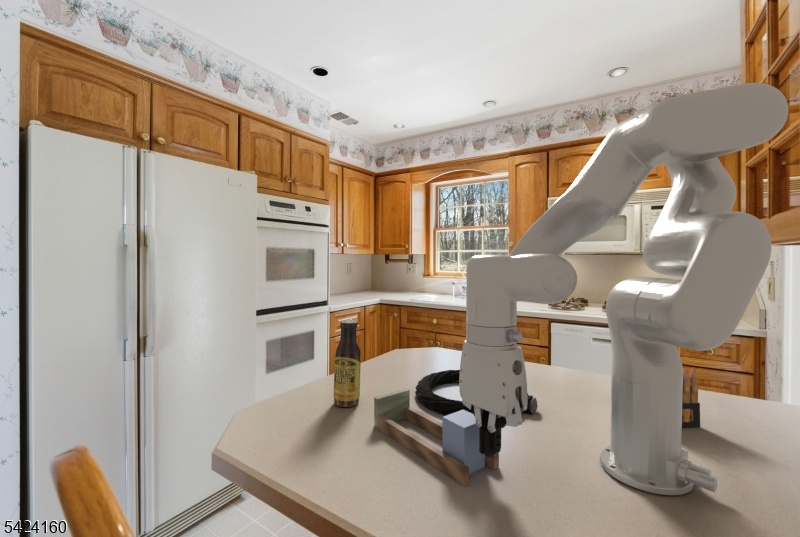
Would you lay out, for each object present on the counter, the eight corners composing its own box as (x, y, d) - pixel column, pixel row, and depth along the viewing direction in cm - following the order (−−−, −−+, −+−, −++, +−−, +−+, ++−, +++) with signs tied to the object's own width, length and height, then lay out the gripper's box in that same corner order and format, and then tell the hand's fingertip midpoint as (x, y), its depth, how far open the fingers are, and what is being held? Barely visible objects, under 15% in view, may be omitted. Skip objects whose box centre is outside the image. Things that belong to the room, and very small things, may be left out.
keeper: (485, 466, 61) (485, 419, 61) (464, 477, 58) (464, 427, 58) (463, 453, 65) (463, 409, 65) (442, 463, 62) (442, 416, 62)
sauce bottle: (329, 407, 85) (328, 323, 85) (339, 397, 92) (339, 318, 91) (355, 410, 84) (355, 324, 83) (364, 399, 90) (364, 319, 89)
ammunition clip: (692, 423, 77) (694, 367, 76) (700, 427, 75) (701, 369, 75) (644, 425, 76) (645, 368, 76) (650, 429, 74) (651, 370, 74)
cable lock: (449, 362, 111) (552, 381, 93) (449, 374, 111) (552, 396, 93) (392, 387, 89) (514, 419, 71) (392, 403, 89) (513, 439, 71)
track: (498, 467, 61) (499, 431, 61) (463, 486, 56) (463, 447, 56) (406, 415, 81) (406, 388, 81) (374, 425, 76) (374, 397, 76)
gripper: (549, 340, 53) (547, 466, 53) (470, 325, 64) (470, 427, 65) (518, 348, 48) (516, 485, 49) (439, 330, 60) (439, 440, 60)
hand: (490, 452), depth 57 cm, fingers closed
